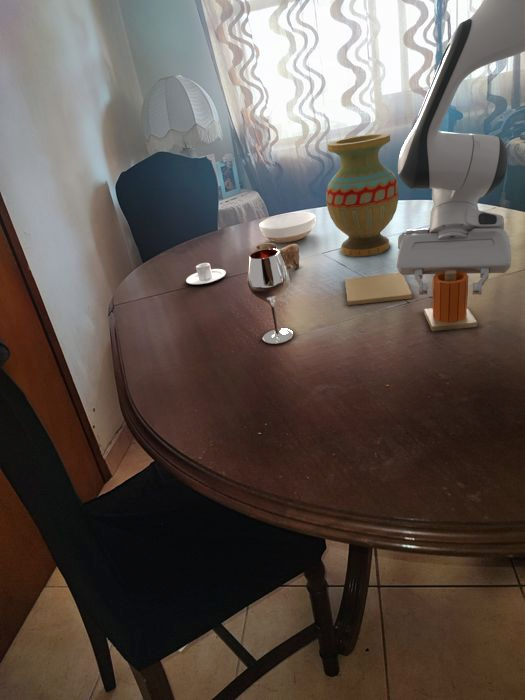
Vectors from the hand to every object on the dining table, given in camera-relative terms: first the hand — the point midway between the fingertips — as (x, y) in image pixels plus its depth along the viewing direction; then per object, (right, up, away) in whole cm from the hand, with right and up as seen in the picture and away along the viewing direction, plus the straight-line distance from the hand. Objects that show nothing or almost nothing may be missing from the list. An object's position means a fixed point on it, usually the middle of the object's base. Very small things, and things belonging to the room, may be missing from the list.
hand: (449, 293), depth 87 cm
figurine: (-30, +11, +43) cm, 54 cm away
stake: (+1, -5, +3) cm, 6 cm away
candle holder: (-52, +10, +50) cm, 73 cm away
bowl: (-26, +28, +73) cm, 83 cm away
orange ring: (+1, -4, +3) cm, 5 cm away
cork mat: (-8, +4, +22) cm, 23 cm away
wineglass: (-32, -8, +9) cm, 34 cm away
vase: (-5, +19, +49) cm, 53 cm away
